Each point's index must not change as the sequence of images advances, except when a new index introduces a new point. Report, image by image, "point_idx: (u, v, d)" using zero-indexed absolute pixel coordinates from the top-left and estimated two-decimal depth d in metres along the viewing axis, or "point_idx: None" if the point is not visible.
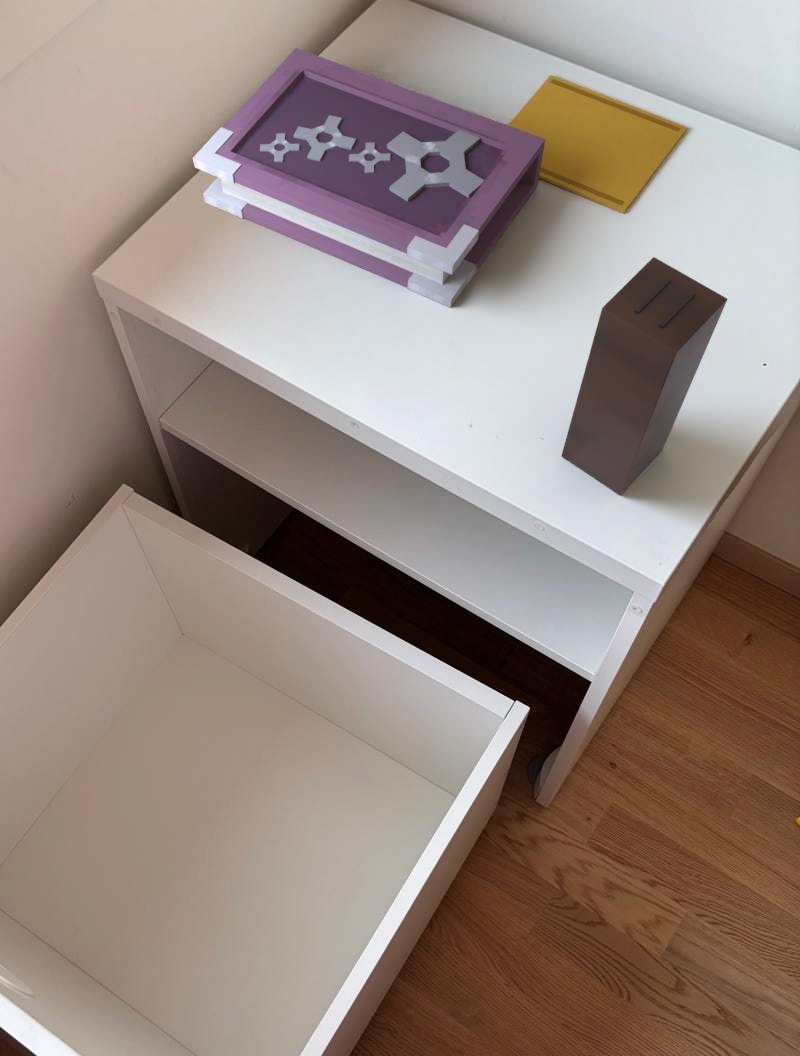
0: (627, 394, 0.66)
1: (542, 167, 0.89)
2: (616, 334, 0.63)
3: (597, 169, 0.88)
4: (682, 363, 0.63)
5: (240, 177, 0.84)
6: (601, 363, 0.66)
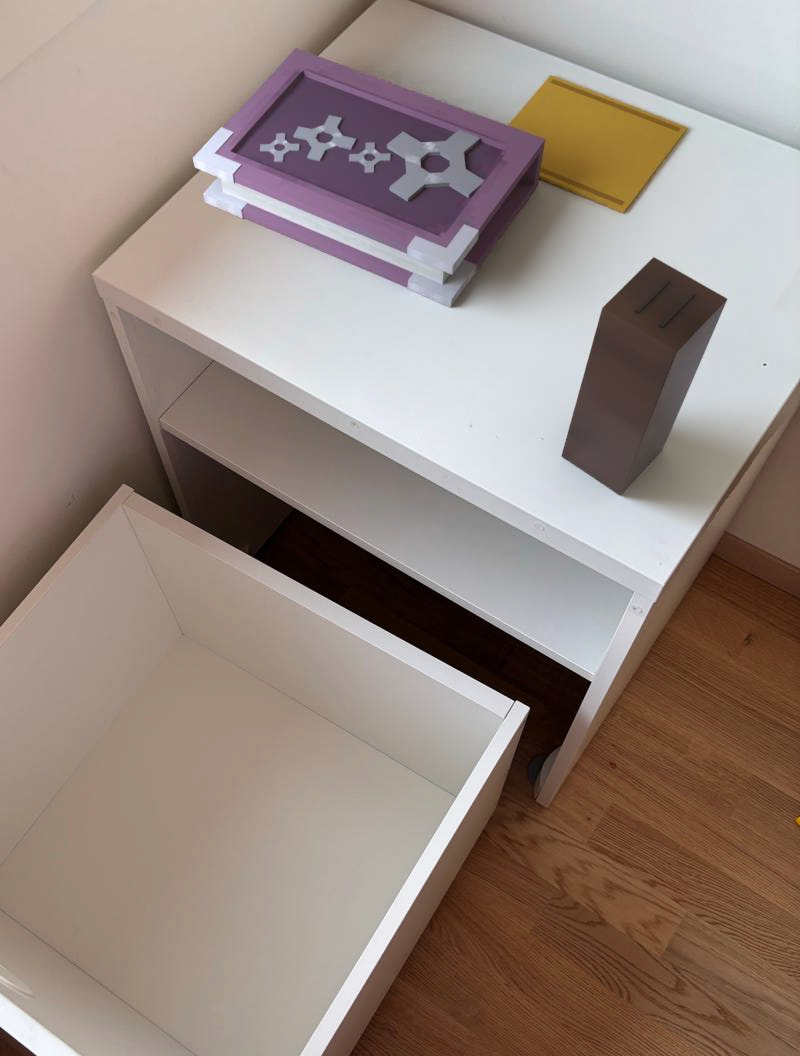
0: (627, 394, 0.66)
1: (542, 167, 0.89)
2: (616, 334, 0.63)
3: (597, 169, 0.88)
4: (682, 363, 0.63)
5: (240, 177, 0.84)
6: (601, 363, 0.66)
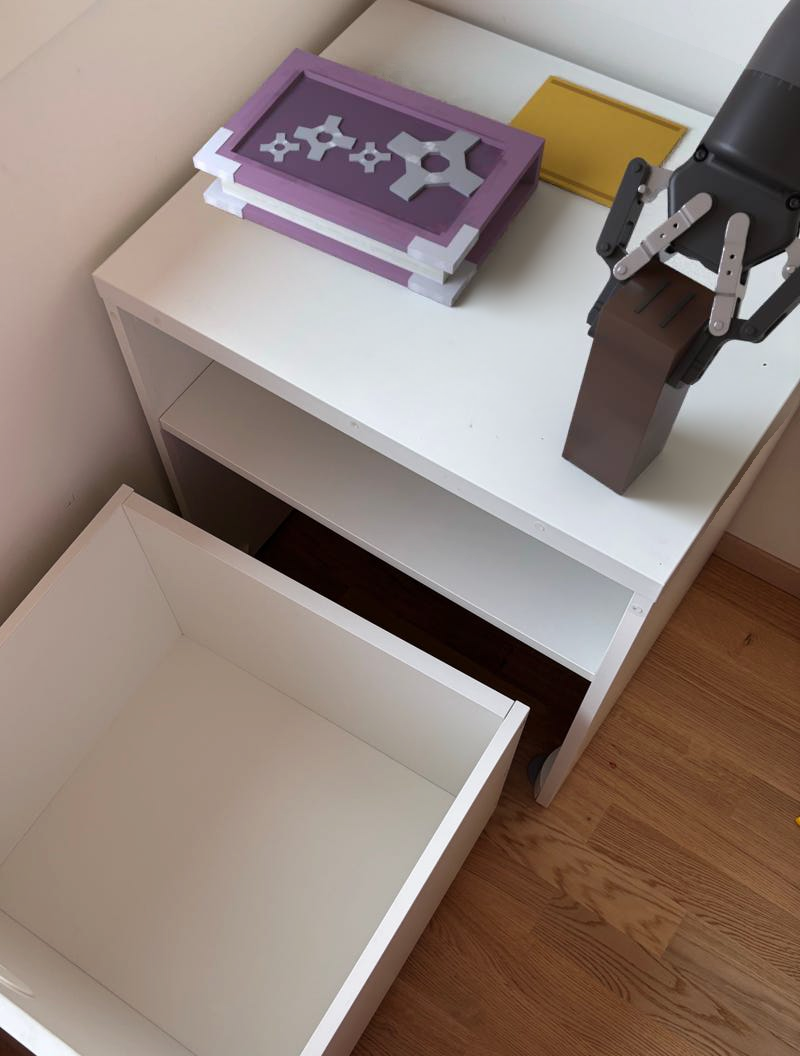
0: (627, 395, 0.66)
1: (542, 167, 0.89)
2: (615, 334, 0.63)
3: (597, 169, 0.88)
4: None
5: (240, 177, 0.84)
6: (601, 363, 0.66)
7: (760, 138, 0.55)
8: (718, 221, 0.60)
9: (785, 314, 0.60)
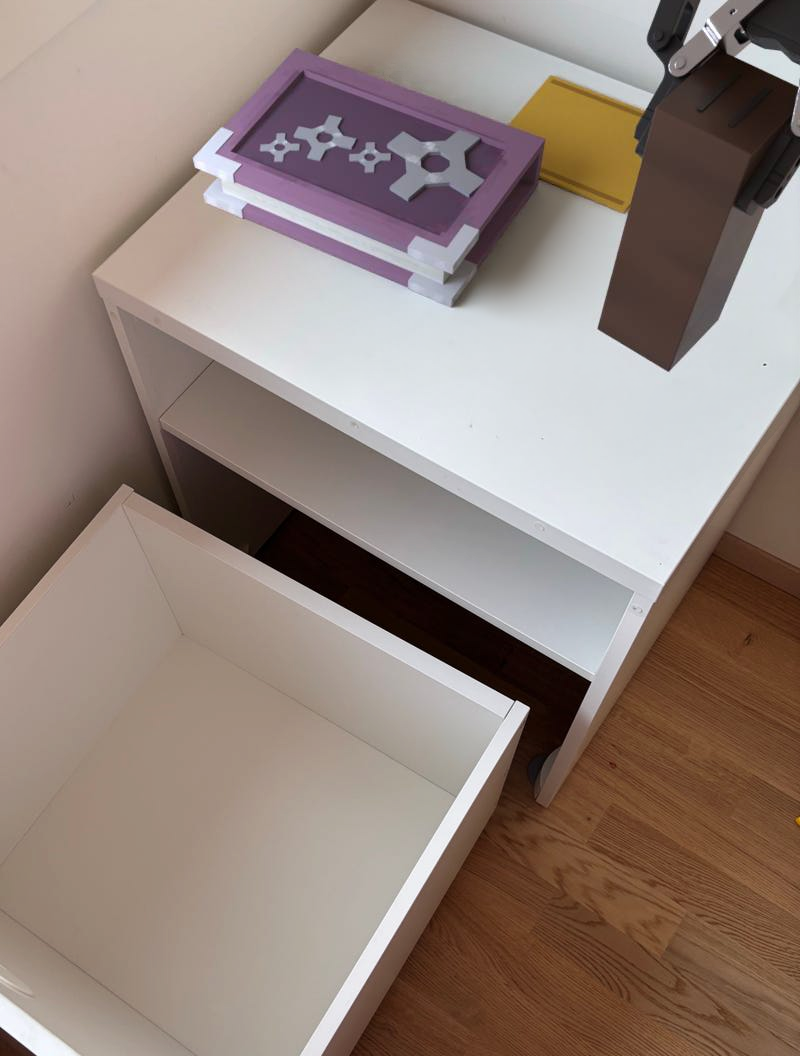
0: (683, 228, 0.54)
1: (542, 167, 0.89)
2: (672, 143, 0.51)
3: (597, 169, 0.88)
4: None
5: (240, 177, 0.84)
6: (651, 189, 0.53)
7: None
8: None
9: None
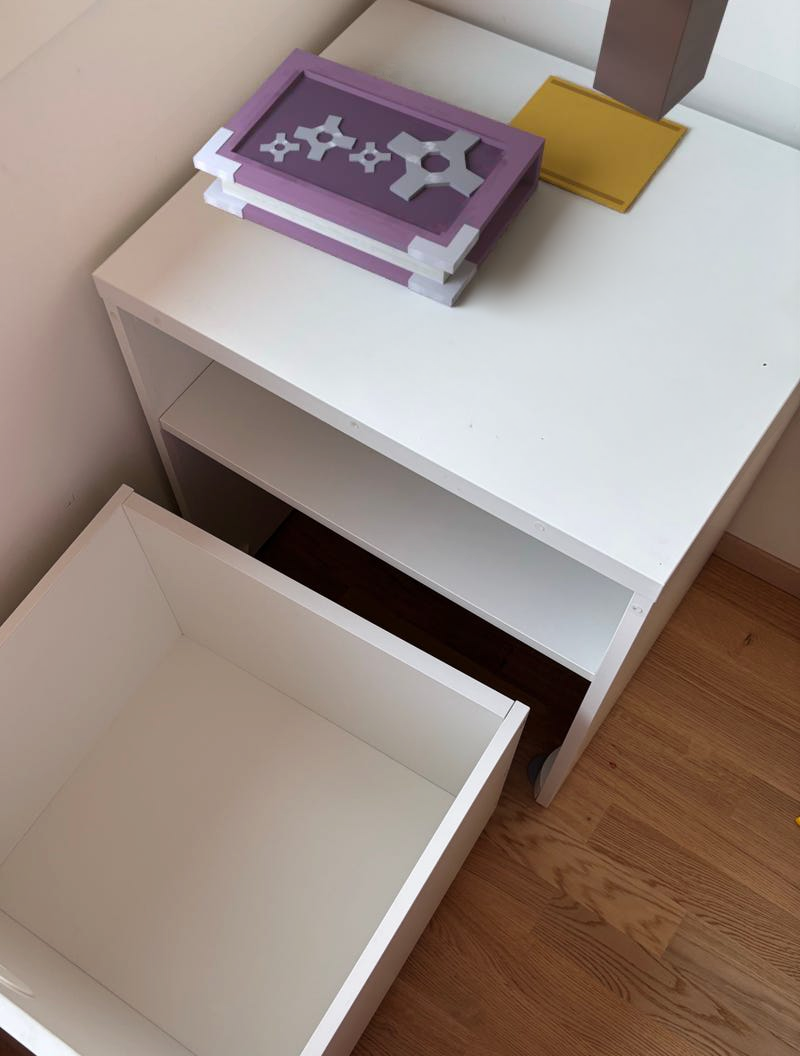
0: None
1: (542, 167, 0.89)
2: None
3: (597, 169, 0.88)
4: None
5: (240, 177, 0.84)
6: None
7: None
8: None
9: None
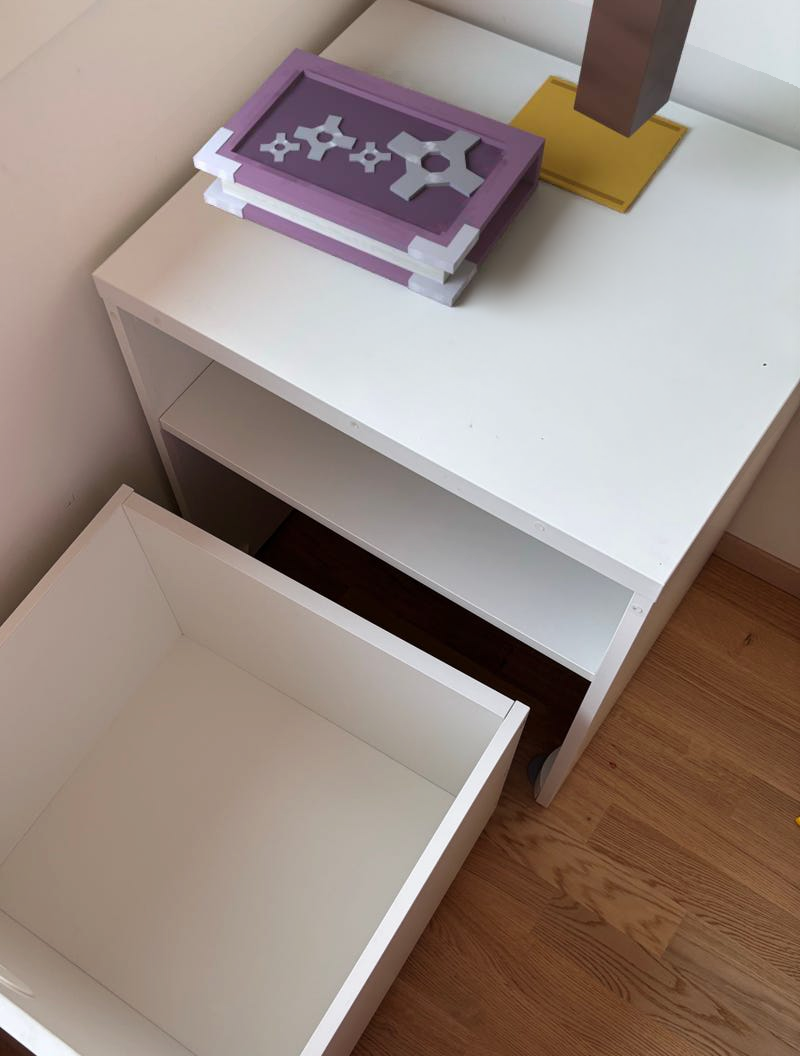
0: (635, 1, 0.71)
1: (542, 167, 0.89)
2: None
3: (597, 169, 0.88)
4: None
5: (240, 177, 0.84)
6: None
7: None
8: None
9: None
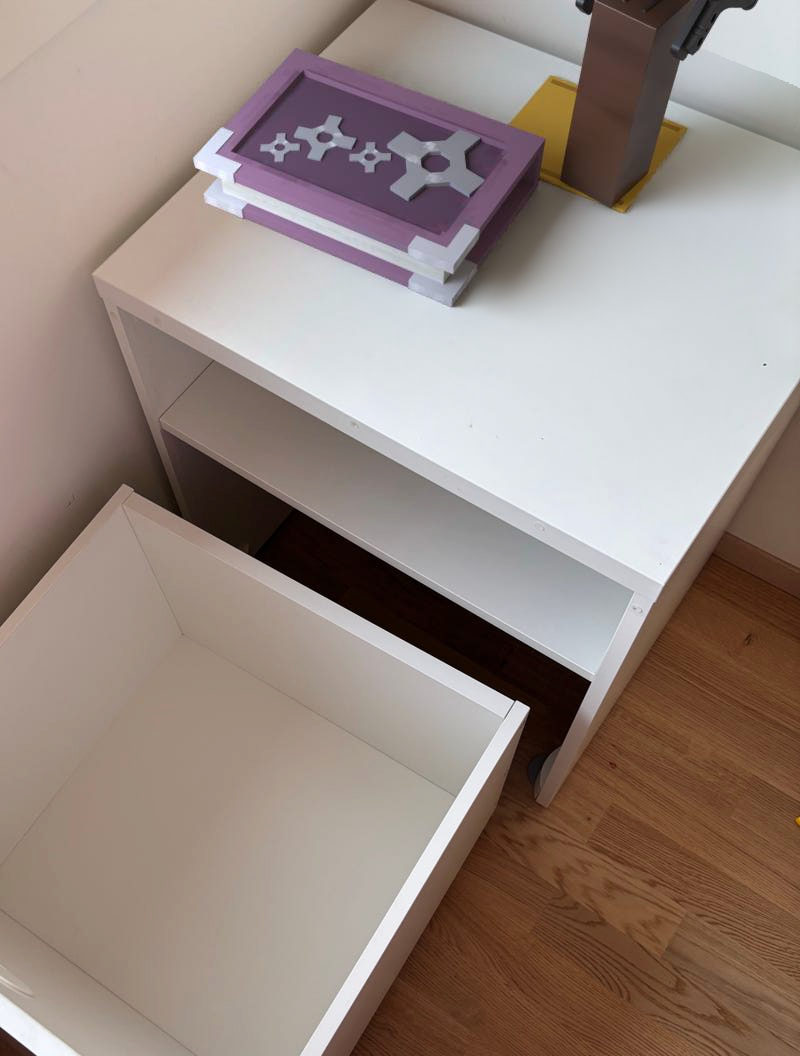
0: (616, 90, 0.78)
1: (542, 167, 0.89)
2: (606, 25, 0.74)
3: None
4: (662, 52, 0.75)
5: (241, 177, 0.84)
6: (594, 62, 0.77)
7: None
8: None
9: None
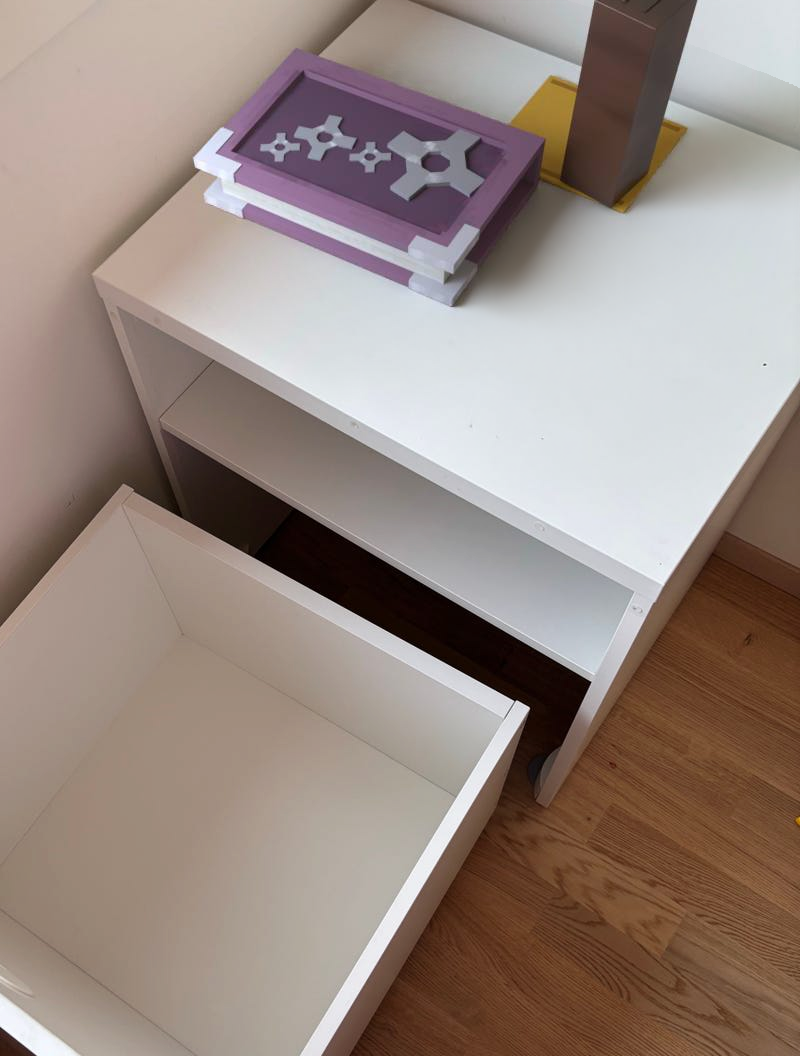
0: (616, 90, 0.78)
1: (542, 167, 0.89)
2: (606, 25, 0.74)
3: None
4: (662, 52, 0.75)
5: (241, 177, 0.84)
6: (594, 62, 0.77)
7: None
8: None
9: None
